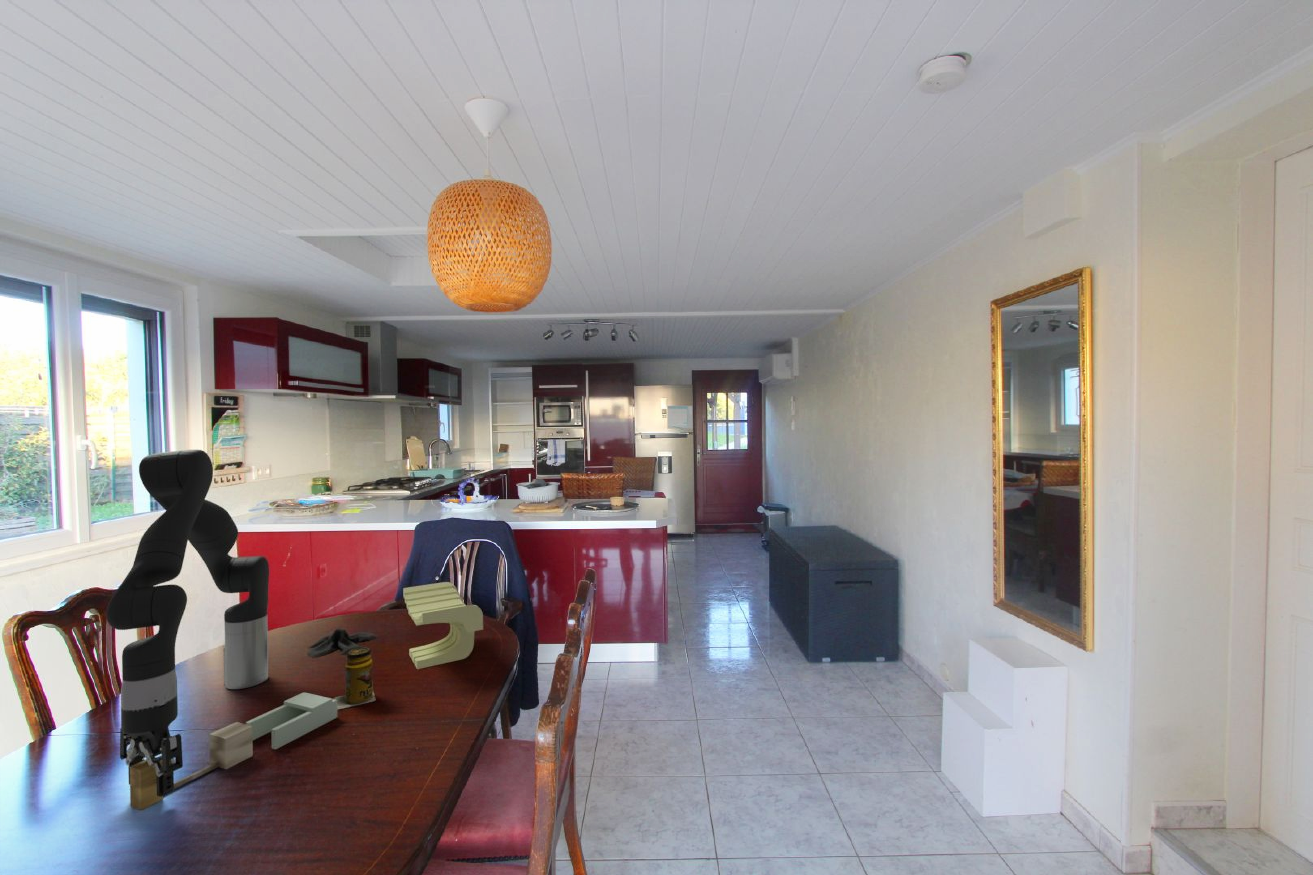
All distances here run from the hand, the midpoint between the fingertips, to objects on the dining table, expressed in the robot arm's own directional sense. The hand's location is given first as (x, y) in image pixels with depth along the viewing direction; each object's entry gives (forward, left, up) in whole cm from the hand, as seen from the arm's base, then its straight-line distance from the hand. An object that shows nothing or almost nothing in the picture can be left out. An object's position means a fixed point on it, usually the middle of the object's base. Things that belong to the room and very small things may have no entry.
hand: (151, 788), depth 100 cm
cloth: (-36, +65, -3) cm, 74 cm away
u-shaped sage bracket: (0, +26, -2) cm, 26 cm away
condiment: (+1, +41, -2) cm, 41 cm away
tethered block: (0, +7, -2) cm, 7 cm away
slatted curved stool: (+1, +71, -2) cm, 71 cm away
